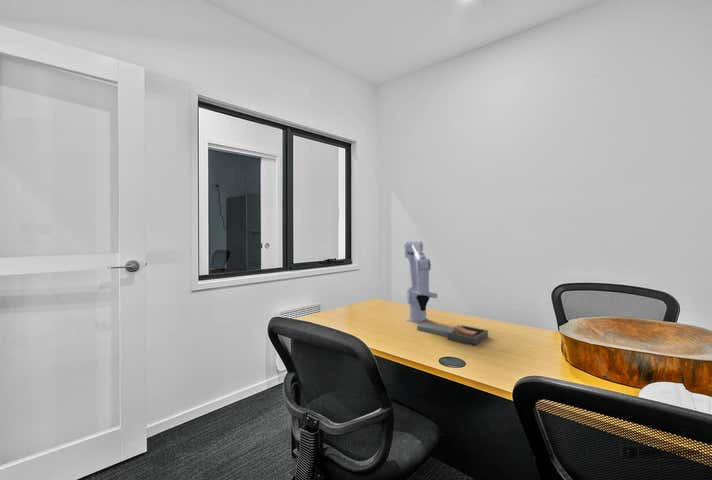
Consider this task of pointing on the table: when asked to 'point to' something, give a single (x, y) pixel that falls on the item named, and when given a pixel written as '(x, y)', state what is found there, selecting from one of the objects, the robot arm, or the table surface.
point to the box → (469, 340)
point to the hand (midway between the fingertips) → (423, 310)
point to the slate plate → (435, 329)
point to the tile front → (470, 333)
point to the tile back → (459, 330)
